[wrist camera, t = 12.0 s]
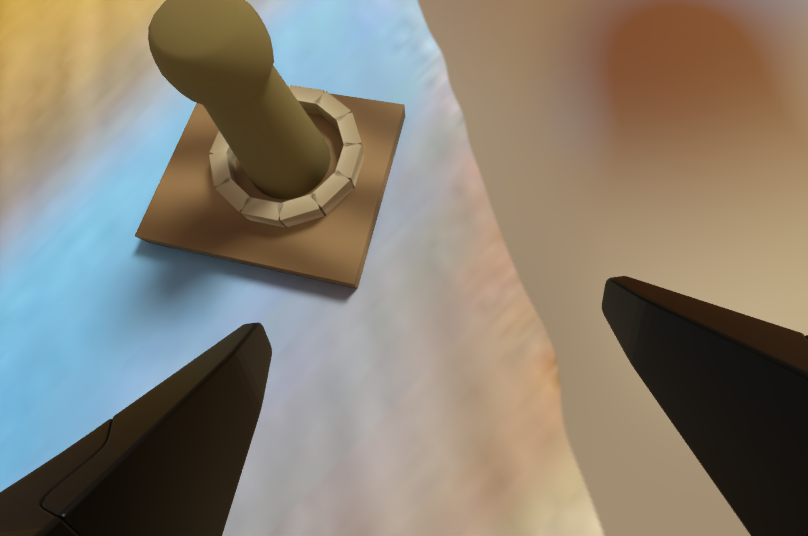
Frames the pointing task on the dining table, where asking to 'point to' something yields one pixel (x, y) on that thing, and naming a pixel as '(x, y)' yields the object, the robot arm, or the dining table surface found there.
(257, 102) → the olive brown pestle
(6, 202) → the dining table surface
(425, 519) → the dining table surface
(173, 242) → the ring board
